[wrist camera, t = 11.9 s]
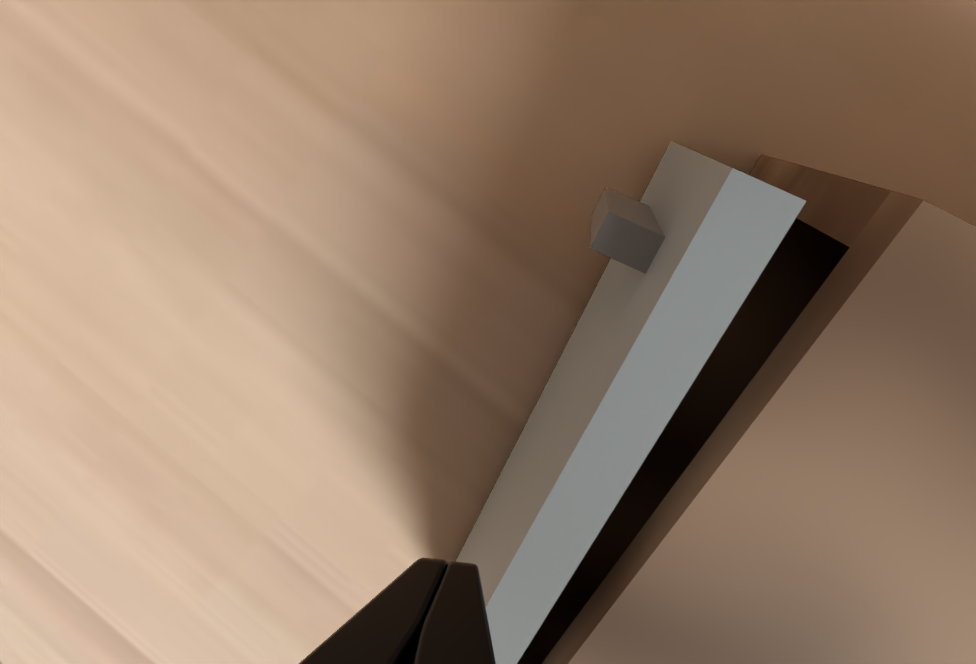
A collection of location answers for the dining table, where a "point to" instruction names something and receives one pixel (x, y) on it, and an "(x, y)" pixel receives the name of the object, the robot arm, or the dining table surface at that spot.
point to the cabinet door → (621, 375)
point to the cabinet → (807, 462)
